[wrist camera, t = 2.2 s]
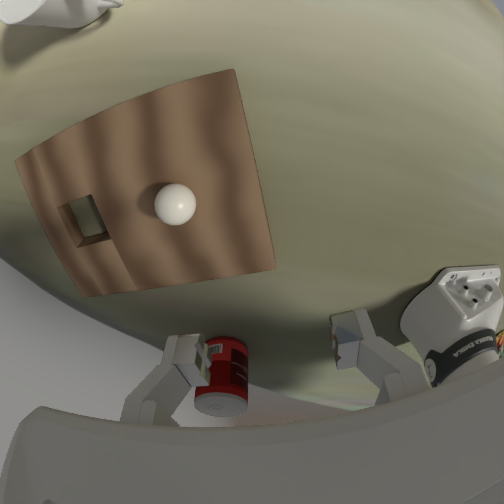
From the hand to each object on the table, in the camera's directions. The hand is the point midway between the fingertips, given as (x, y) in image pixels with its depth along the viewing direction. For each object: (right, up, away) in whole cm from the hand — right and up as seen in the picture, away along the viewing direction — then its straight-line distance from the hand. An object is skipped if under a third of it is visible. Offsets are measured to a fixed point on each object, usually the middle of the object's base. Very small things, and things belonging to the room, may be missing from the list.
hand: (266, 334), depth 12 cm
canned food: (-5, -13, +34) cm, 37 cm away
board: (-14, +9, +19) cm, 25 cm away
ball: (-8, +8, +15) cm, 18 cm away
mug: (-17, +30, +5) cm, 35 cm away
